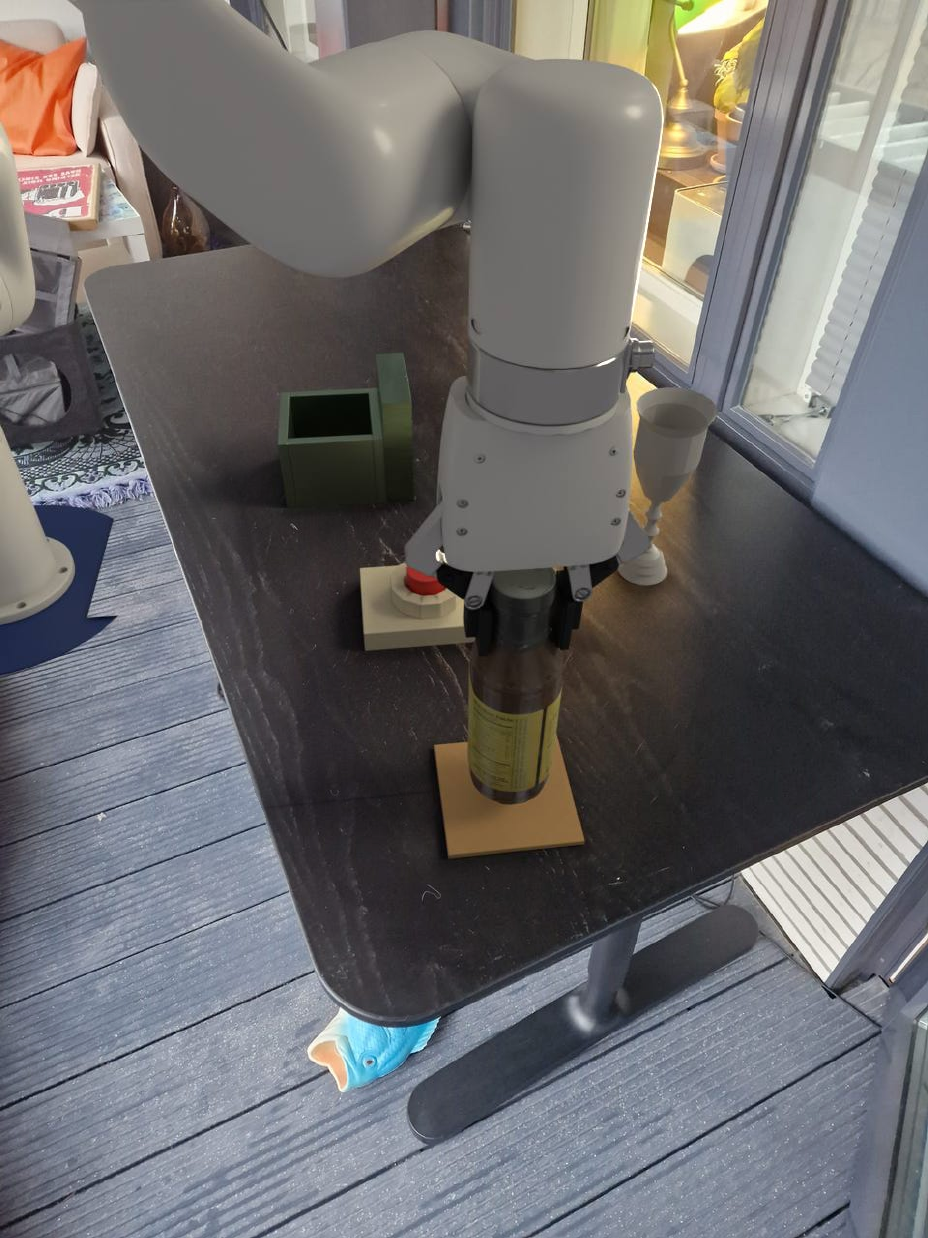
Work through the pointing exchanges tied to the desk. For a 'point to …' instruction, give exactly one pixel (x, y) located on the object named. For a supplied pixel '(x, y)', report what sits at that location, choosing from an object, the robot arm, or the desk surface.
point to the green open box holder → (349, 442)
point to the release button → (422, 583)
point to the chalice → (665, 462)
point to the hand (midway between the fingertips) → (519, 635)
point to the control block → (407, 612)
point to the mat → (503, 810)
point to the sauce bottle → (515, 690)
